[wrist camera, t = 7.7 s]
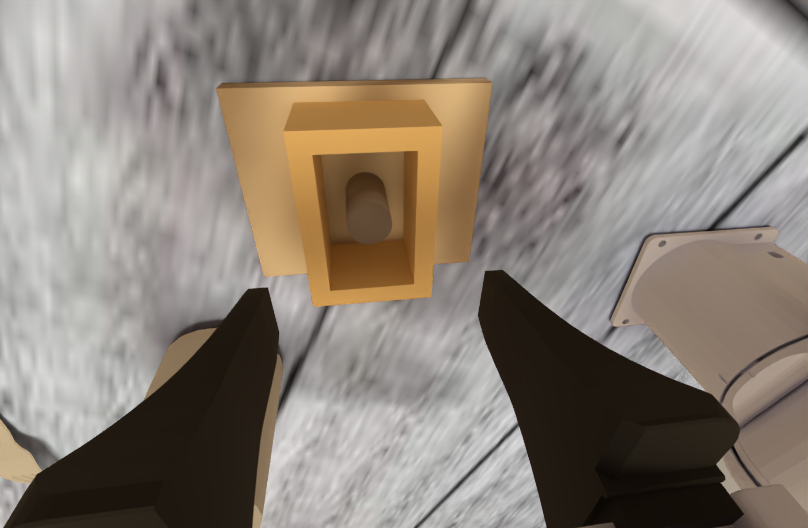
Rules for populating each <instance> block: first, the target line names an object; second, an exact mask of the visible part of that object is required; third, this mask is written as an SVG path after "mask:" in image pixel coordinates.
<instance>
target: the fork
mask: <svg viewBox="0 0 808 528" xmlns="http://www.w3.org/2000/svg"><path fill="white" fill-rule="evenodd" d="M41 471H42V470H41V469H40V467H39V466H38V464H37V463H36V461H35V459H34V458H33V456H32V455H31V454H30V452H29V451H27V450H25V449H24V448H22V447H20V446H19V445H18V444H17V443H16V442H15V441H14V439H13V437H12V435H11V433H10V431H9V430H8V428H7V427H6V426H5V424H4V423H3V422H2V420H1V419H0V475H1V476H2V477H3V478H5V479H8V480H12V481H16V482H20V483H31V482H32V481H33V479H34V478H35V476H36V475H37V474H38V473H40V472H41Z"/></svg>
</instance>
